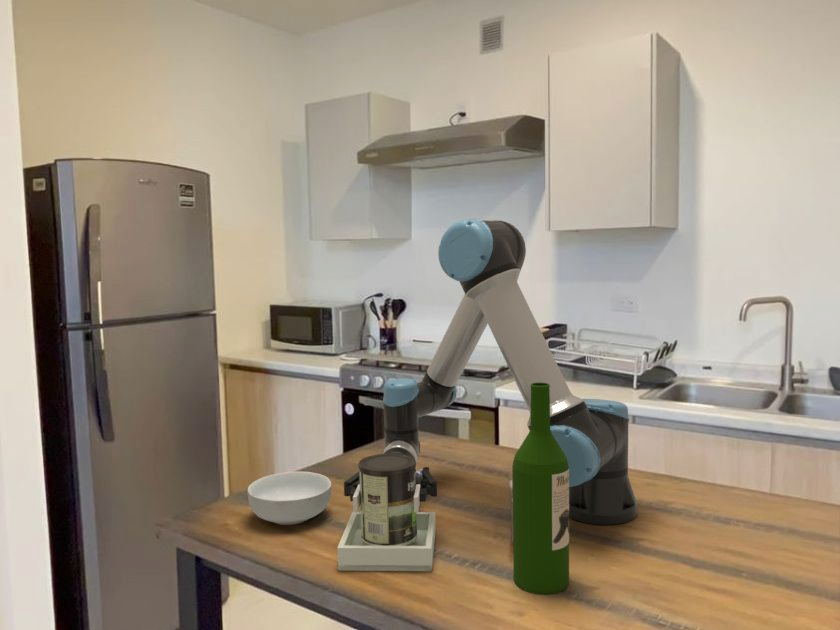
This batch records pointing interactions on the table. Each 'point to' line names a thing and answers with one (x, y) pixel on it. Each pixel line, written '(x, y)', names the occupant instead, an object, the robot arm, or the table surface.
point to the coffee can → (387, 500)
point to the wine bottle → (540, 504)
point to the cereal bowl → (289, 496)
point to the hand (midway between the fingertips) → (385, 504)
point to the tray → (387, 549)
